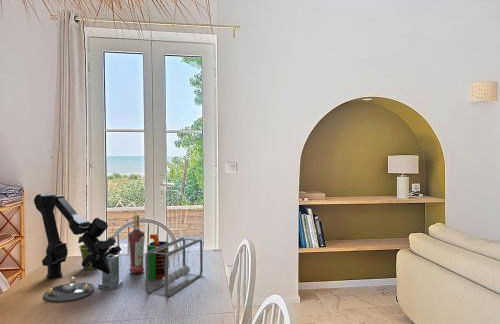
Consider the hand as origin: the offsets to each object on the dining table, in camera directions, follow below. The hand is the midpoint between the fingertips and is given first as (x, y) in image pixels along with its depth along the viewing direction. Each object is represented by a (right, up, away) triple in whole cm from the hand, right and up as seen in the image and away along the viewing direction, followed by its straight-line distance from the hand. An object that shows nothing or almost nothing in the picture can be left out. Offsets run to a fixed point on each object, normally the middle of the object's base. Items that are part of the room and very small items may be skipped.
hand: (113, 271), depth 163 cm
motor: (+16, -6, +13) cm, 22 cm away
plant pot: (-20, -6, +27) cm, 34 cm away
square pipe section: (-1, -7, +1) cm, 7 cm away
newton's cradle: (+27, -7, +3) cm, 28 cm away
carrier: (-15, -7, -7) cm, 18 cm away
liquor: (+5, -6, +19) cm, 20 cm away
